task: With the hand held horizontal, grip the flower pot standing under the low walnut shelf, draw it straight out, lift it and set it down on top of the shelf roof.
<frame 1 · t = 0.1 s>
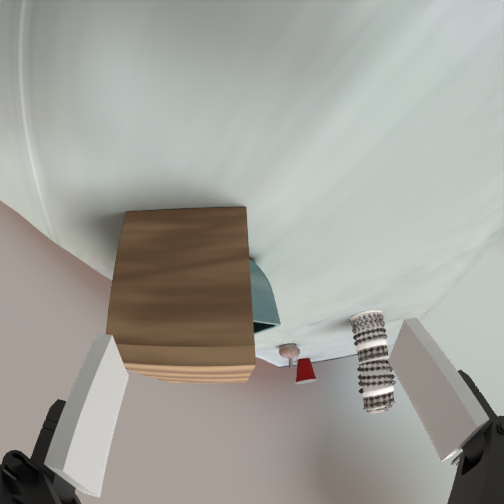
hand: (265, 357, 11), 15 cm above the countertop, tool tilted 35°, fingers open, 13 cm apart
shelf: (196, 263, 36), on the countertop
plastic cup: (303, 358, 128), on the countertop
flower pot: (227, 260, 36), on the countertop
garlic bulb: (288, 344, 91), on the countertop
decorative candle: (366, 314, 66), on the countertop
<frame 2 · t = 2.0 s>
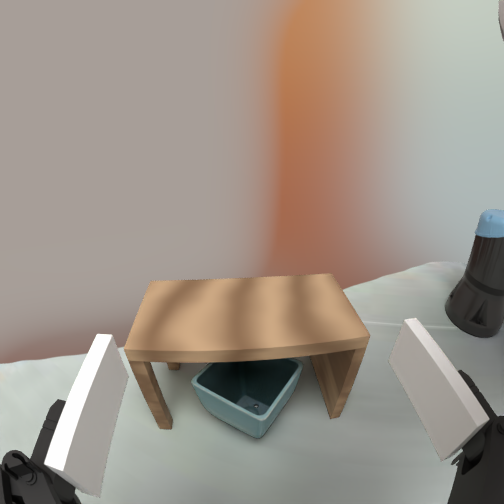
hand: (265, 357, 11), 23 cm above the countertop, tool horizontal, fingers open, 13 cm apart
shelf: (247, 392, 34), on the countertop
flower pot: (249, 417, 31), on the countertop
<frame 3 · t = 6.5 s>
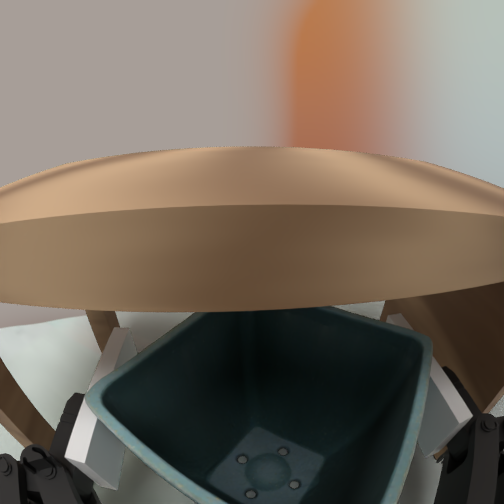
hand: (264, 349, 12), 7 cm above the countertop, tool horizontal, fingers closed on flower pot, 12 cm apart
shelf: (260, 419, 15), on the countertop
flower pot: (267, 476, 11), on the countertop, touching gripper
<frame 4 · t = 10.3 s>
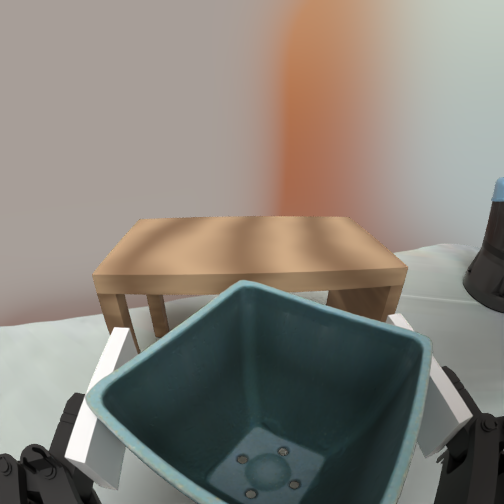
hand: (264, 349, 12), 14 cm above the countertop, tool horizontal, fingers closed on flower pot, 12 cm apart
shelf: (249, 363, 29), on the countertop
flower pot: (267, 477, 11), point 7 cm above the countertop, touching gripper
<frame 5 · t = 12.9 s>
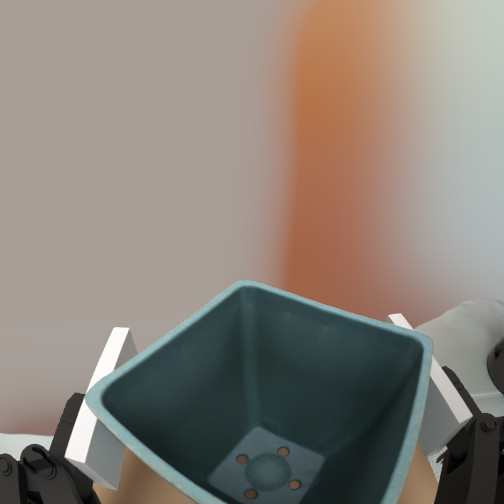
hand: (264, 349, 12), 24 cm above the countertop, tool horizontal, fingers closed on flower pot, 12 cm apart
flower pot: (267, 477, 11), point 17 cm above the countertop, touching gripper
when the fingers open (22 cm above the countertop, at t = 14.1 s): flower pot drops 1 cm, resting on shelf.
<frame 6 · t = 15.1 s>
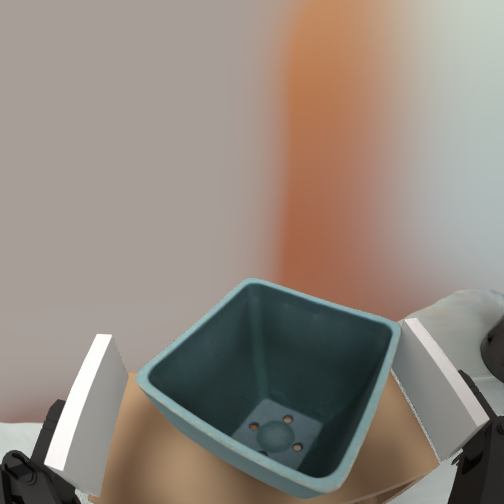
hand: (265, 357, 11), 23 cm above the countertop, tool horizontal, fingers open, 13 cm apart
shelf: (258, 490, 21), on the countertop
flower pot: (275, 441, 15), point 15 cm above the countertop, touching gripper, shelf
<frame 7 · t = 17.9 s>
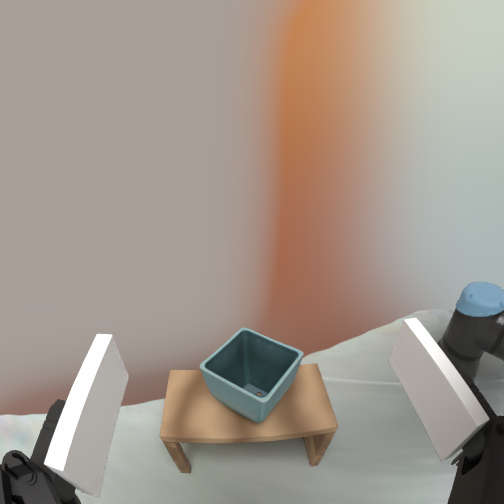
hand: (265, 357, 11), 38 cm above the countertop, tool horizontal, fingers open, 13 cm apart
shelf: (247, 444, 40), on the countertop
flower pot: (252, 404, 34), point 14 cm above the countertop, touching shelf
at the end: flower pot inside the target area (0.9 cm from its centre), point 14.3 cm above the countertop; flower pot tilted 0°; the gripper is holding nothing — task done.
